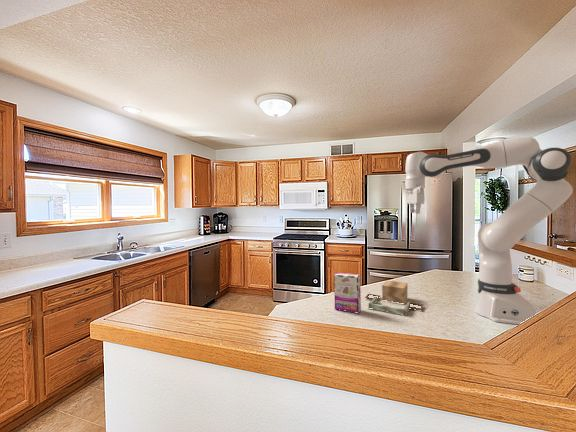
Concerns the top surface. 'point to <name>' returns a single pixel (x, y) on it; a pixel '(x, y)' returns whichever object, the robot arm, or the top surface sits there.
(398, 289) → the block
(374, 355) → the top surface
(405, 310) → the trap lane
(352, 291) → the candy bar box
